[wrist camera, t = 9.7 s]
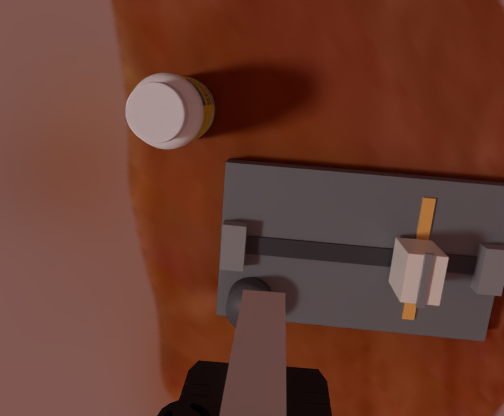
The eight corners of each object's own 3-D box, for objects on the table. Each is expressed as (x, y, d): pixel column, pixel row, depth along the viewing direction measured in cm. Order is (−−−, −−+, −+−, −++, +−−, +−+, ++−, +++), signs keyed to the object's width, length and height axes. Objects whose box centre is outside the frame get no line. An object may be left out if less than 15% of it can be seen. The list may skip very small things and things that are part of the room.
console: (228, 158, 40) (221, 167, 36) (507, 182, 39) (536, 194, 35) (219, 304, 44) (212, 329, 39) (475, 329, 43) (497, 357, 38)
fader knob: (396, 235, 39) (409, 252, 34) (432, 238, 38) (450, 256, 34) (388, 283, 40) (400, 306, 35) (423, 286, 40) (440, 310, 35)
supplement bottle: (228, 99, 39) (211, 102, 30) (195, 152, 40) (168, 171, 31) (174, 62, 39) (139, 53, 29) (142, 117, 40) (99, 125, 30)
